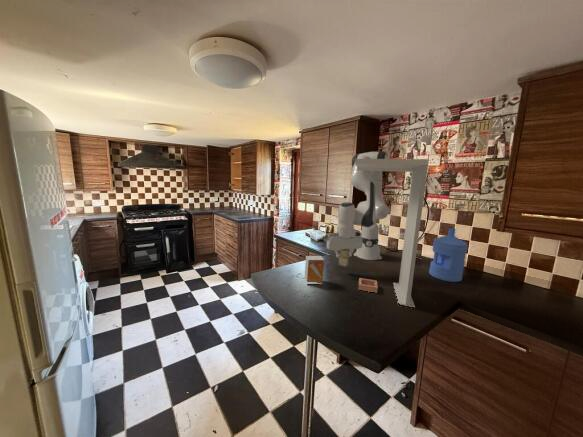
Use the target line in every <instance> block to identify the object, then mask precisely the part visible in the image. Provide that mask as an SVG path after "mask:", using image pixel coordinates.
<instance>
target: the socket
mask: <svg viewBox="0 0 583 437" xmlns="http://www.w3.org/2000/svg"><path fill="white" fill-rule="evenodd" d="M358 290H363V291H368V292H367V293H369V292H375V293H377V294H378V281H377V280H374V279H369V278H368V279H367V278H362V277H359V279H358V288H357V291H358ZM363 291H362V292H363ZM375 293H374V294H375Z"/></svg>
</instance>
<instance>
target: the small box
mask: <svg viewBox="0 0 583 437" xmlns="http://www.w3.org/2000/svg"><path fill="white" fill-rule="evenodd" d="M324 268H325V259H324V257H322V255H306V256H305V267H304V280H305V279H306V281H307V282H317V283H323V282H324ZM323 284H324V283H323Z"/></svg>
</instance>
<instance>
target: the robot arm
mask: <svg viewBox="0 0 583 437" xmlns="http://www.w3.org/2000/svg"><path fill="white" fill-rule="evenodd" d="M355 159H389V156H388V153H387V152H386V151H383V150H382V151H368V152H363V153H356V154H354V155H353V156H352V158H351V167H352V168H351V169H352V170H351V174H350V183H351V185H352V186H353V187H355V189H357V190H359V191H362V192H364V195H365V196H366V200H364V201H360V202H359V203H358V204H357V206H356V207H355V204H354V203H352V202H350V201H348V202H342V203H340V204H339V206H338V211H337V212H338V213H337V221H338V222H337V228H336V232H331V233H329V234H327V236H326V238H327V239H326V240H327V241H326V249H327V250H328V251H334V253H335V256H336V258H339V257H340V254H339V250H344V249H349V258H350V257H352V254H353V256H354V257H357V258H360V259H362V260H367V261H376V260H382V259H383V257H382V255H381V254H380V252H381V246H380V245H379V231H380V226H379V224H378V223H377V220H384V219H385V218H387V217H388V216H389V214H390V213H389V212H390V210H389V206H388V205H387V204H386V202H385V200H384V197H383V171H357V166H356V165H355ZM355 226H361V231H360V230H356V229H355ZM355 250H356V251H355ZM354 251H355V252H354ZM353 252H354V253H353Z"/></svg>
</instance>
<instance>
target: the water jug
mask: <svg viewBox="0 0 583 437" xmlns="http://www.w3.org/2000/svg"><path fill="white" fill-rule="evenodd" d="M467 250H468V243H467V242H466V241H464V240H462V239H460V238H458V237H457V236H456V228H453V227H449V228H448V231H447V235H443V236H439V237H436V238H434V239H433V242H432V252H433V260H431V261H430V267H429V270H428V271H429V272H428V273H429V274H430V275H431V276H432V277H433V278H434V279H435V278H436V279H438V280H441V281H444V282H448V283H449V282H450V283H457V282H458V283H459V282H461V281H462V280H463V273H464V267H465V265H466V264H465V263H466V262H465V261H466V257H467V256H466V255H467Z"/></svg>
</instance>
